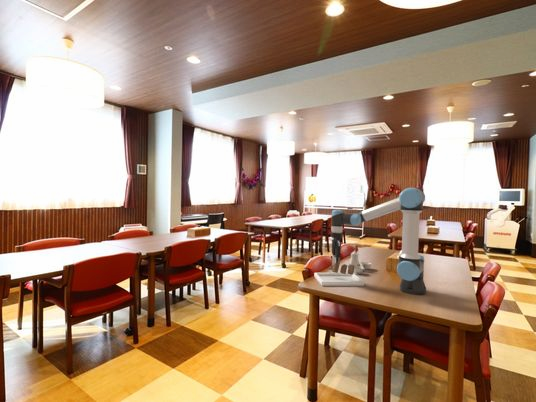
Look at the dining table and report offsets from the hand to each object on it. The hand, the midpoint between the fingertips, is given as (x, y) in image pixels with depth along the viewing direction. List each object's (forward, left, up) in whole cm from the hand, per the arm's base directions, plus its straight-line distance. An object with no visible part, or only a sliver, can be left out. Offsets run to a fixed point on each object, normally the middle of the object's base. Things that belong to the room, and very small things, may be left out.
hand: (335, 265), depth 189 cm
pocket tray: (-1, -2, -11) cm, 11 cm away
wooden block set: (-2, -2, -5) cm, 6 cm away
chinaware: (+25, -27, -11) cm, 38 cm away
